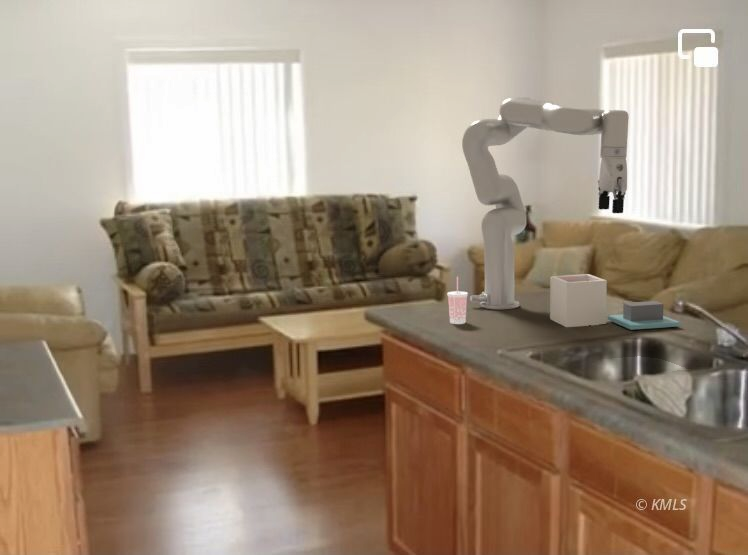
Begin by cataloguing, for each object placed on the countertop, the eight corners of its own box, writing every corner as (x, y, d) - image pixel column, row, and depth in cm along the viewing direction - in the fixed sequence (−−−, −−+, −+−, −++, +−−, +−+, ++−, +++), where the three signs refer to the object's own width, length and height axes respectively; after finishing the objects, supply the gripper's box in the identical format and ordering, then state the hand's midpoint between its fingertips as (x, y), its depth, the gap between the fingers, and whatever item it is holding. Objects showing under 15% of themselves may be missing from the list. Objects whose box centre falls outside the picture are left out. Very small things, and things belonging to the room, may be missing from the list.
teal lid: (630, 332, 282) (631, 309, 281) (607, 322, 296) (607, 300, 295) (679, 328, 285) (680, 306, 284) (654, 318, 299) (654, 297, 298)
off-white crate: (566, 327, 290) (566, 282, 287) (550, 319, 302) (550, 276, 299) (606, 324, 292) (606, 280, 290) (588, 316, 304) (589, 274, 302)
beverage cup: (471, 321, 301) (471, 275, 299) (463, 325, 296) (462, 278, 293) (452, 319, 304) (452, 274, 301) (444, 323, 298) (443, 277, 296)
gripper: (638, 154, 285) (635, 214, 288) (613, 151, 302) (610, 207, 305) (614, 154, 284) (610, 214, 287) (589, 151, 300) (587, 208, 303)
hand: (610, 211), depth 296 cm, fingers open, 9 cm apart
